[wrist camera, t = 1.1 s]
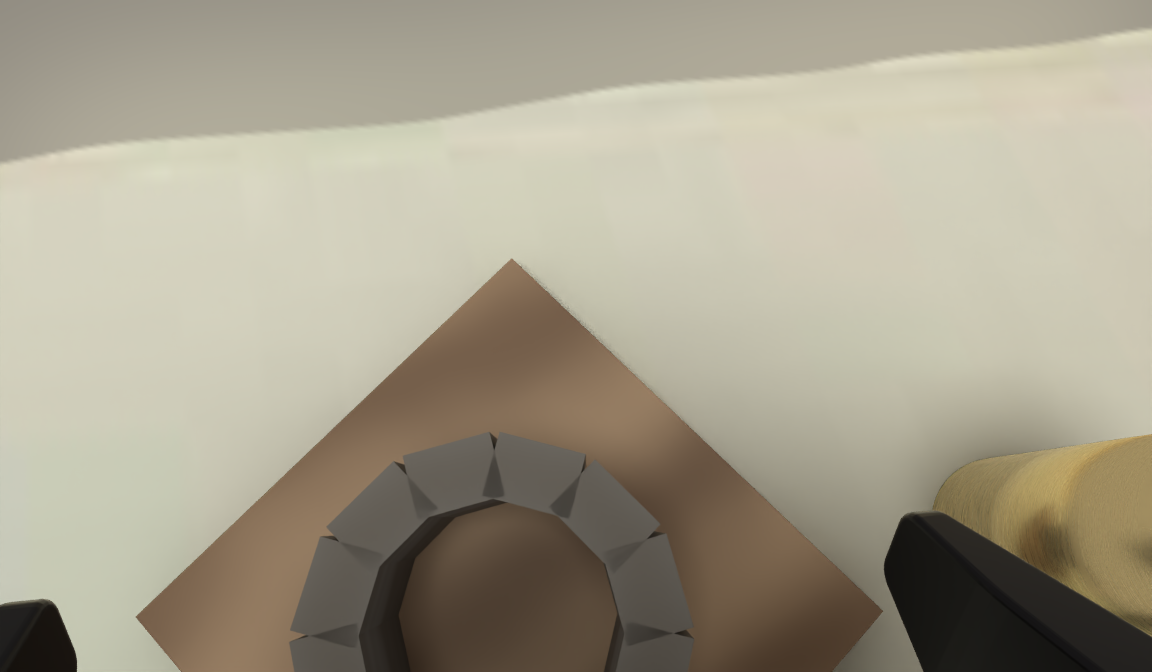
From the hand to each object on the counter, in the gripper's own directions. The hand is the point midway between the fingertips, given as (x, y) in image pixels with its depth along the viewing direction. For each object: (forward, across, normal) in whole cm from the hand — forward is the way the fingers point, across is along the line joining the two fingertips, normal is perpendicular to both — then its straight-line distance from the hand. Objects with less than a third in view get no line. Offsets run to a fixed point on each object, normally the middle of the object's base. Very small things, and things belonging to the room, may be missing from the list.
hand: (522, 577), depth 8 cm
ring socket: (+10, -1, +12) cm, 16 cm away
